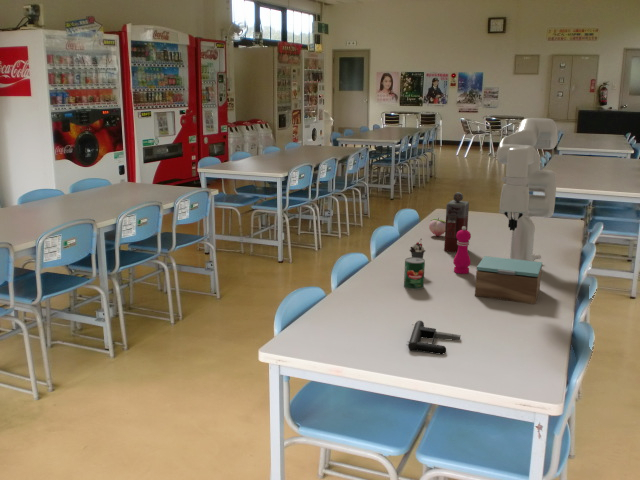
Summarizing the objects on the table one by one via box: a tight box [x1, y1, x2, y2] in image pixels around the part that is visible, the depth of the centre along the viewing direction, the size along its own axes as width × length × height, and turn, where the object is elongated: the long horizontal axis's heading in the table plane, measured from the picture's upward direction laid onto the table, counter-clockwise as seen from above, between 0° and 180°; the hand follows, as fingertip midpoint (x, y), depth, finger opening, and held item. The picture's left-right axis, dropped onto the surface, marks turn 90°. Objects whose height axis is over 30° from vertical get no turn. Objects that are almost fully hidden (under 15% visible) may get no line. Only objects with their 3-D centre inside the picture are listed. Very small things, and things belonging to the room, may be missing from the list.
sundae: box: [409, 238, 426, 259], centre depth 270 cm, size 7×7×15 cm
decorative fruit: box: [428, 217, 446, 237], centre depth 335 cm, size 9×8×10 cm
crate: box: [474, 266, 543, 305], centre depth 247 cm, size 18×22×10 cm
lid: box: [476, 255, 543, 277], centre depth 245 cm, size 20×22×1 cm
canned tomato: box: [403, 256, 426, 291], centre depth 254 cm, size 8×8×11 cm
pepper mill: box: [453, 226, 472, 275], centre depth 272 cm, size 7×7×20 cm
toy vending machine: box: [443, 191, 470, 253], centre depth 305 cm, size 9×11×28 cm
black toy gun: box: [407, 320, 462, 355], centre depth 202 cm, size 3×20×16 cm
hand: (512, 229), depth 241 cm, fingers closed
